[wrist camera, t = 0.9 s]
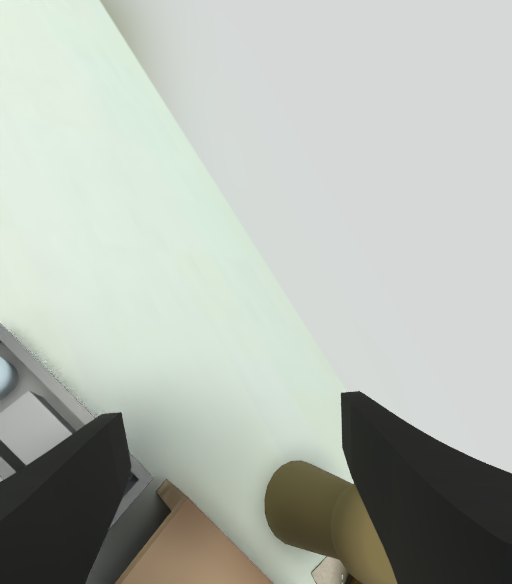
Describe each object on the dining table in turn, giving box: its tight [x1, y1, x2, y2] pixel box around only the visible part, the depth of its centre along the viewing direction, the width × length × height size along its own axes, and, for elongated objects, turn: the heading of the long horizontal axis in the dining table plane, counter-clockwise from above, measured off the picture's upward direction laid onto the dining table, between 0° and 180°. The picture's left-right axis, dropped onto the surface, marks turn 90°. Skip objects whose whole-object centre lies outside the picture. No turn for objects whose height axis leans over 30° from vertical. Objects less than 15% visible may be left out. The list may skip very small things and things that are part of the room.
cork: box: [265, 461, 397, 584], centre depth 23 cm, size 6×6×11 cm
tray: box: [0, 323, 153, 529], centre depth 21 cm, size 5×14×5 cm, turn 49°
